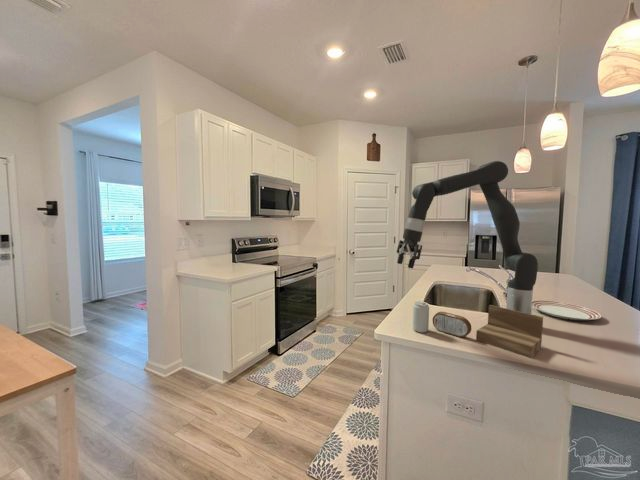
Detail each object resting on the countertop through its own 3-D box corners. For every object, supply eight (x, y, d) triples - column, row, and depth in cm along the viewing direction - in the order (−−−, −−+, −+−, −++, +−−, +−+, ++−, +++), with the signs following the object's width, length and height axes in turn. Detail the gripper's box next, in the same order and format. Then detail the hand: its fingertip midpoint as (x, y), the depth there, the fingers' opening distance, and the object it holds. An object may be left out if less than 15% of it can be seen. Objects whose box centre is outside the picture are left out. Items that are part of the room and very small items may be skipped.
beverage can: (429, 334, 117) (430, 306, 116) (413, 332, 118) (414, 304, 117) (426, 328, 123) (427, 301, 122) (411, 326, 124) (412, 300, 123)
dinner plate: (607, 317, 139) (608, 310, 139) (592, 329, 124) (592, 321, 123) (540, 302, 162) (541, 297, 161) (520, 311, 146) (521, 305, 146)
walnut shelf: (488, 332, 119) (489, 304, 118) (540, 348, 105) (543, 317, 104) (476, 340, 111) (477, 310, 110) (530, 358, 97) (533, 324, 96)
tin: (471, 338, 113) (472, 318, 112) (468, 340, 111) (469, 320, 110) (434, 327, 124) (434, 309, 123) (431, 329, 121) (431, 310, 121)
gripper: (431, 233, 115) (421, 271, 116) (411, 229, 129) (403, 263, 130) (416, 229, 113) (406, 268, 114) (397, 226, 127) (389, 261, 128)
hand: (404, 265), depth 122 cm, fingers open, 8 cm apart
